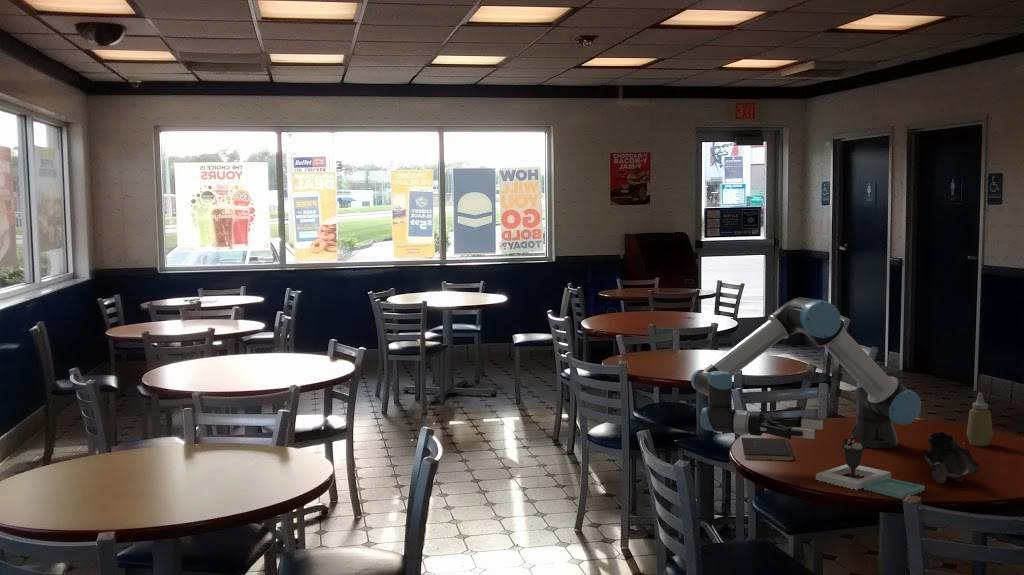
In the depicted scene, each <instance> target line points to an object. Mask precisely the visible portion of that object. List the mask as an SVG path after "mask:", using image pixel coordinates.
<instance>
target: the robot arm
mask: <svg viewBox="0 0 1024 575" xmlns="http://www.w3.org/2000/svg"><path fill="white" fill-rule="evenodd" d="M845 327H846V325H845V321H843V319H842V317H841V313H840V311H839V309H838V308H837V307H836V306H835V305H833V304H832V303H831V302H828V301H826V300H824V299H814V298H810V297H809V298H808V297H806V296H804V297H803V296H802V297H796V298H793V299H791V300H789V301H788V302H786V303H784V304H783V305H781V306H780V307H779V308H778V309H776V310H775V311H773V312H772V313H771V314H769V315H768V318H767V321H766V322H764V323H763V324H762V325H761V326H759V327H757V329H755V330H754V331H753V332H751V333H750V334H748V335H747V336H746V337H745V338H744V339H742V340H741V341H740V342H739V343H737V344H736V345H734V346H733V347H732V348H731V349H729V350H728V351H727V352H725V353H724V354H723V355H721V356H720V357H719V358H718V359H716V360H715V361H713V363H711V364H710V365H708V366H707V367H706V368H704V369H697V370H696V371H694V372H693V373H692V375H691V378H690V383H691V386H692V387H693V389H694V390H696V391H697V392H698V393H700V394H703V395H705V396H707V397H708V399H707V400H708V403H707V406H705V407H703V408H702V409H701V412H700V419H699V420H700V421H699V422H700V426H701V428H702V429H704V430H706V431H711V432H715V433H731V434H738V435H739V436H743V435H750V436H756V437H758V436H759V437H761V436H762V435H763V434H766V435H770V436H771V435H772V436H774V437H775V436H776V437H780V438H783V439H787V440H792V438H799V439H809V440H810V439H812V440H815V438H816V437H815V431H816V430H820V431H823V430H824V420H818V419H807V418H803V416H802V415H799V416H794V417H793V416H789V417H788V416H781V417H780V416H778V417H777V416H769V418H765V415H764V413H763V412H761V411H750V410H742V409H733V385H734V384H733V377H734V376H735V375H736V374H738V373H739V372H741V371H742V370H743V369H744V368H746V367H747V366H748V365H749V364H750V363H752V362H753V361H754V360H756V359H757V358H759V357H760V356H761V355H762V354H764V353H765V352H766V351H768V350H769V349H770V348H772V346H774V345H775V344H777V343H778V342H779V341H780V340H782V339H788V338H790V337H791V336H793V335H795V334H797V333H803V334H804V335H806V336H807V337H808V338H809V340H810V341H811V342H813V344H814V345H815V346H816V347H823V348H824V349H826V351H827V352H829V354H830V355H831V356H832V357H833V358H834V359H835V360H836V361H837V362H838V363H839V365H840V366H841V367H842V368H844V369H845V370H846V372H847V373H848V374H849V375H850V377H852V378H853V379H854V380H855V381H856V389H855V391H856V420H855V424H854V427H853V429H852V432H851V435H850V438H853V437H854V436H856V435H858V434H859V432H860V434H859V435H858V437H857V438H858V439H859V440H860V441H859V442H860V443H861V444H862V446H864V447H865V448H868V447H870V448H869V449H888V448H890V449H891V448H895V447H896V446H898V436H897V433H896V429H895V427H894V424H897V425H903V426H904V425H909V424H911V423H913V422H914V421H915V420H917V418H918V417H919V416H920V414H921V411H922V409H921V407H922V400H921V398H920V396H919V395H918V394H917V393H916V392H915V391H913V390H911V389H907V388H906V387H905V385H904V384H903V383H901V381H900V380H899V378H897V377H895V376H889V375H888V374H886V373H885V371H884V370H883V369H882V368H881V367H880V366H879V365H878V364H877V363H876V361H875V360H874V359H873V358H872V357H871V356H870V355H869V354H868V353H867V352H866V351H865V350H864V349H863V347H861V346H860V345H859V343H858V342H857V341H856V340H855V339H854V338H853V337H852V336H851V335H850V334H849V333H848V332H847V331H846V329H845Z"/></svg>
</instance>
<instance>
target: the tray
mask: <svg viewBox="0 0 1024 575" xmlns="http://www.w3.org/2000/svg"><path fill="white" fill-rule="evenodd" d="M925 487H926V486H925V485H922V484H917V483H914V482H913V483H912V482H908V481H905V480H899V479H895V478H892V477H891V478H887V477H886V478H883V479H881V480H878V481H875V482H872V483H869V484H866V485H864V488H863V490H864V491H867V490H868V491H867V492H871V491H872V492H871V493H874V494H879V495H882V496H883V495H884V496H889V497H892V498H896V499H900V500H904V499H905V498H904V497H905V496H908V495H912V496H914V495H917V494H920V493H923V492H925V491H924V490H925V489H926V488H925ZM922 491H923V492H922ZM919 492H920V493H919ZM903 498H904V499H903Z"/></svg>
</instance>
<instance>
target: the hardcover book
mask: <svg viewBox="0 0 1024 575" xmlns="http://www.w3.org/2000/svg"><path fill="white" fill-rule="evenodd" d="M740 440H741V445H742V450H743V455H744V459H745V460H756V461H757V460H759V461H761V459H762V461H763V459H764V460H765V461H770V460H769V459H772V460H771V461H790V460H794V461H795V457H794V453H793V451H792V448H791V444H790V442H789V439H788V438H776V437H775V438H771V437H770V438H769V437H741V439H740ZM766 459H768V460H766Z"/></svg>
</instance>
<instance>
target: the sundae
mask: <svg viewBox="0 0 1024 575" xmlns="http://www.w3.org/2000/svg"><path fill="white" fill-rule="evenodd" d="M859 434H860V432H859ZM859 434H858V435H859ZM858 435H856V436H854V437H853V438H851V437H850V438H849V439H847V438H844V439H843V440H844V441H843V442H844V444H843V445H841V448H843V451H844V458H845V465H846V464H847V465H848V466H849V467H850V468H851V474H849V476H848V477H850V478H855V479H861V478H860V477H858V476H857V475H855V469H856V468H857V467H858V466H859V465H860V466H861V463H862V462H861V461H862V454H863V451H864V450H865V448H866V447H864V446H862V444H861V443H860V442H859V441H860V440H859V439H858V438H857V437H858Z"/></svg>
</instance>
